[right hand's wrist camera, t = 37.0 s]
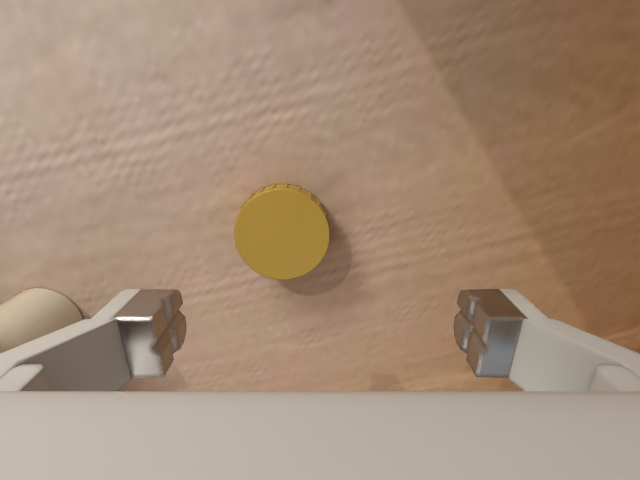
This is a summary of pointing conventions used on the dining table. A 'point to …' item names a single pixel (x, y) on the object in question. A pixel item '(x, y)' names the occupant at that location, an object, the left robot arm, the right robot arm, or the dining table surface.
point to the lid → (282, 231)
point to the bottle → (34, 316)
